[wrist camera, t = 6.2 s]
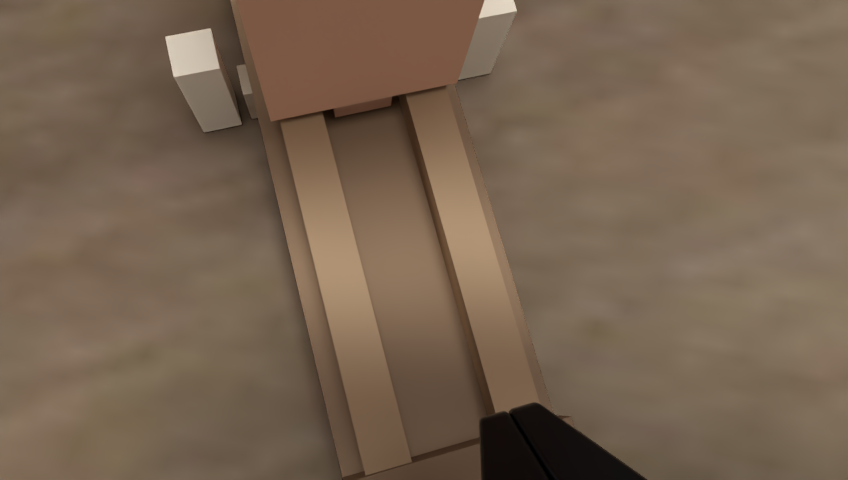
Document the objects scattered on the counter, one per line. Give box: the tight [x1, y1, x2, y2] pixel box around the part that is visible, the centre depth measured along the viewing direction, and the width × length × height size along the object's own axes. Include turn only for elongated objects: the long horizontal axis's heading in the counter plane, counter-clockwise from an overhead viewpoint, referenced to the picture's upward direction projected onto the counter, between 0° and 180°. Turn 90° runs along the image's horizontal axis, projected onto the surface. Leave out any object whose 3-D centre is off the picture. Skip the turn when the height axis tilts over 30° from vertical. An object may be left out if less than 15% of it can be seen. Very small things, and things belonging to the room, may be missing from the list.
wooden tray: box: [230, 0, 575, 480], centre depth 17 cm, size 16×5×3 cm, turn 15°
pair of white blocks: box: [165, 0, 517, 133], centre depth 17 cm, size 1×8×3 cm, turn 105°
